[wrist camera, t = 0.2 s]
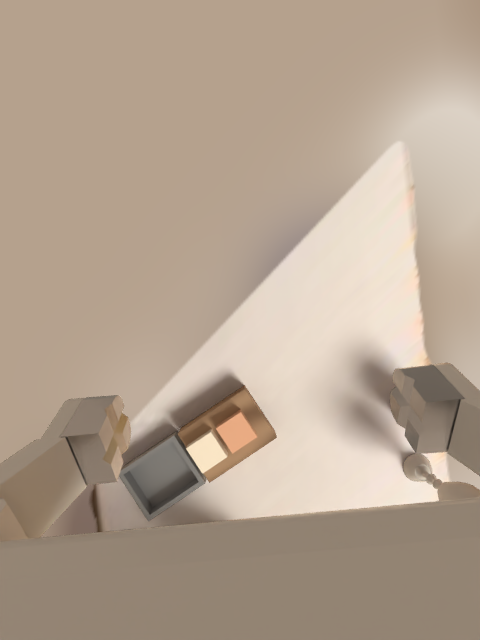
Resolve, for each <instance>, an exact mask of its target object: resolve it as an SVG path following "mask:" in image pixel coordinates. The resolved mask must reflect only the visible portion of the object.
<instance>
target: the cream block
mask: <svg viewBox="0 0 480 640" xmlns="http://www.w3.org/2000/svg"><path fill="white" fill-rule="evenodd" d="M186 449H187V451H188V452H189V454H190V455H191V457H192V458H193V460H194V462H195V463H196V465H197V466H198V468H199V469H200V471H201V472H202V474H203V473H204V472H206V471H207V470H209V469H210V468H212V467H213V466H215V465H216V464H218V463H219V462H221V461H222V460H224V459H225V458H227V456H228V452H227V451H226V449H225V448H224V446H223V445H222V443H221V442H220V440H219V438H218V437H217V435H216V434H215V432H214V431H213V429H210V430H209V431H207V432H206V433H204V434H203V435H201V436H200V437H199V438H197V439H196V440H194V441H193V442H191V443H190V444H188V445H187V448H186Z"/></svg>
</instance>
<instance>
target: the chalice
mask: <svg viewBox="0 0 480 640" xmlns="http://www.w3.org/2000/svg"><path fill="white" fill-rule="evenodd" d="M403 471H404V474H405V475H406V477H407V478H409V479H410V480H412V481H417V482H425V481H427V483H428V484H430V485H431V484H433V487H434V488H435V489H438V497H439V501H447V500H458V499H469V498H480V490H479V489H477V488H476V487H474V486H473V485H470V484H467V483H462V482H444V483H442V481H441V480H439V479H437V478H436V476H435V475H434V474H432V468H431V465H430V462H429V460H428V459H427V458H426V457H425V456H424V455H421V454H412V455H410V456H409V457H407V458H406V460H405V461H404V464H403Z"/></svg>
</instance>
